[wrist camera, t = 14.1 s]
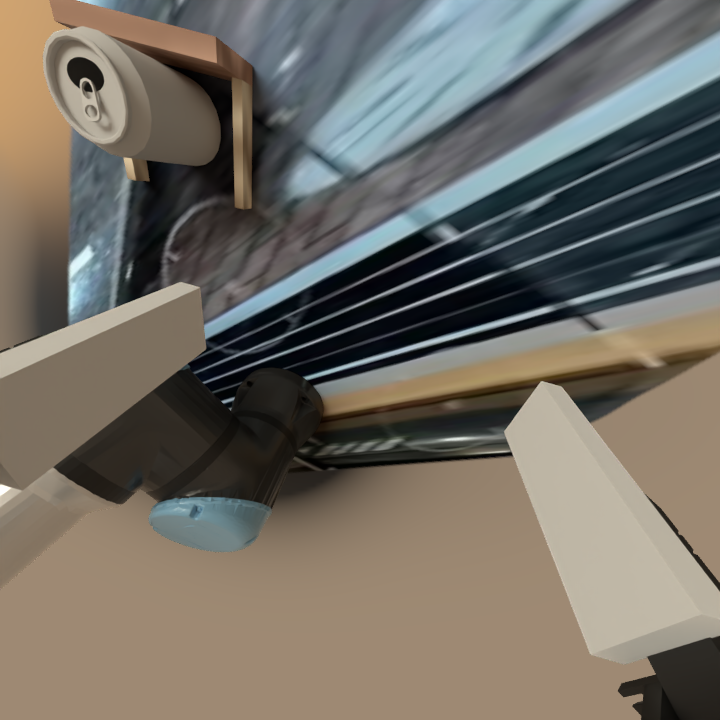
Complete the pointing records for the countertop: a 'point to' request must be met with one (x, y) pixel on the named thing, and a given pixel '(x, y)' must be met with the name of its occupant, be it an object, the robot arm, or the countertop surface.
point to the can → (129, 100)
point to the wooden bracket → (183, 53)
